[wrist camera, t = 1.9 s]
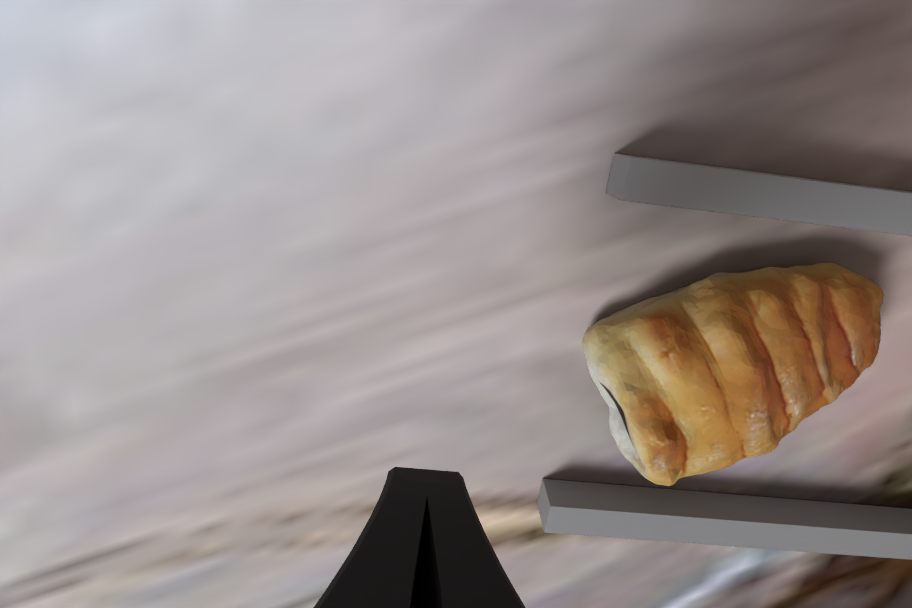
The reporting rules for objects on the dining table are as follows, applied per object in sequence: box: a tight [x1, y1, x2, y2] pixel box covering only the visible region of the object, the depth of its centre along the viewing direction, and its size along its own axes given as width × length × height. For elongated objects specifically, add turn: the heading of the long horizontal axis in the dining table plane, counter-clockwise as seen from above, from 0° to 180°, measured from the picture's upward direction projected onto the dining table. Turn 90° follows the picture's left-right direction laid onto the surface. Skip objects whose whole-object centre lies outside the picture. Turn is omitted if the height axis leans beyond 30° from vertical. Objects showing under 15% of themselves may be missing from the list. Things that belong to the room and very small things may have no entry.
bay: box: [537, 153, 912, 560], centre depth 18 cm, size 13×23×3 cm, turn 83°
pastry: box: [582, 262, 884, 486], centre depth 17 cm, size 9×7×4 cm
